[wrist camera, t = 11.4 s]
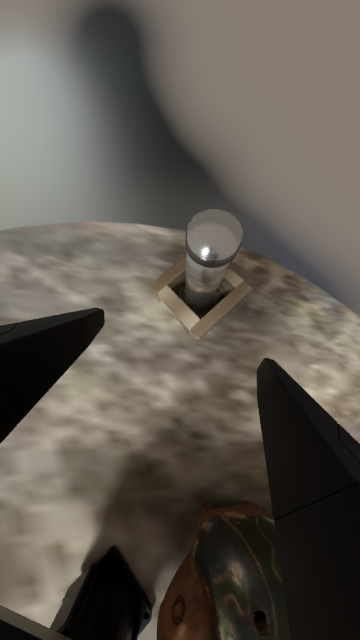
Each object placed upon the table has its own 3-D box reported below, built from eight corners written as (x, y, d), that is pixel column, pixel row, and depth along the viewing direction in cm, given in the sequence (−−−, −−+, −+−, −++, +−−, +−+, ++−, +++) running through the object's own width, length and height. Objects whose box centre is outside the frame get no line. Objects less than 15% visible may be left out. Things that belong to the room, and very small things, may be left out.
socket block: (242, 299, 24) (252, 288, 21) (197, 341, 23) (200, 337, 19) (199, 258, 26) (201, 242, 22) (154, 295, 24) (150, 284, 21)
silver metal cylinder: (217, 306, 24) (253, 247, 12) (188, 314, 24) (196, 263, 12) (207, 281, 25) (231, 202, 13) (180, 288, 25) (178, 215, 13)
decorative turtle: (156, 496, 18) (146, 581, 11) (284, 466, 20) (355, 523, 12) (168, 629, 16) (165, 873, 8) (318, 583, 17) (437, 752, 9)
